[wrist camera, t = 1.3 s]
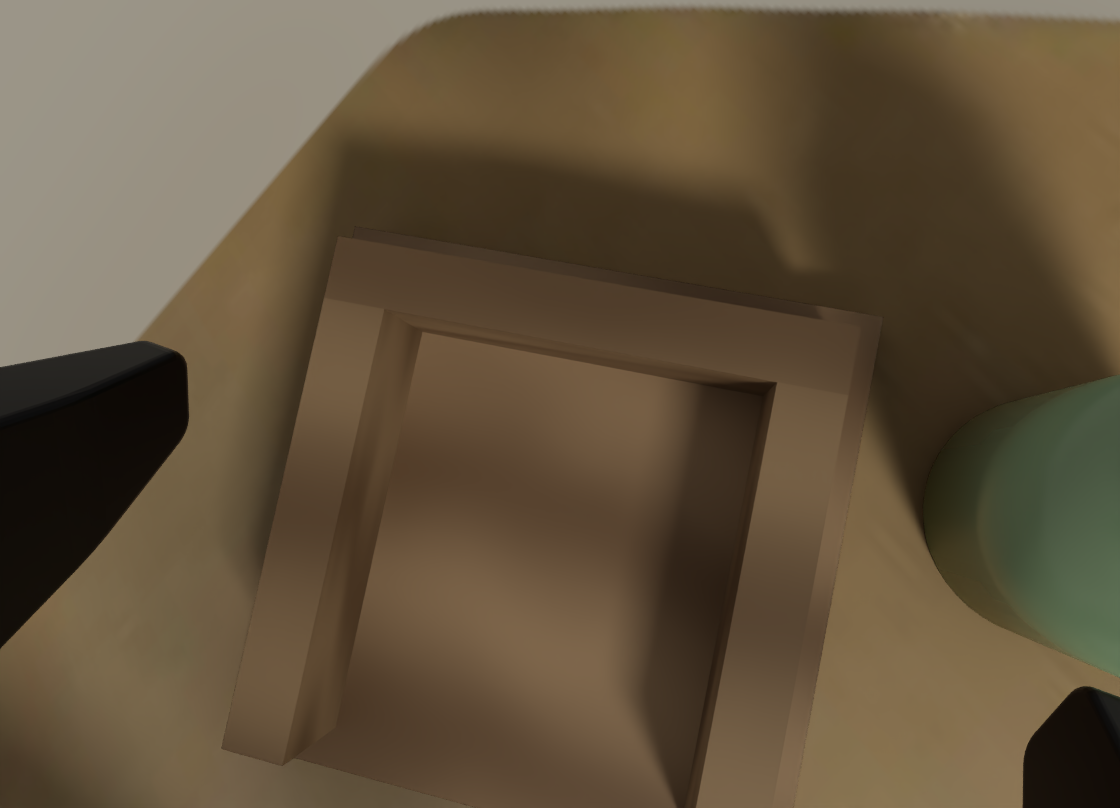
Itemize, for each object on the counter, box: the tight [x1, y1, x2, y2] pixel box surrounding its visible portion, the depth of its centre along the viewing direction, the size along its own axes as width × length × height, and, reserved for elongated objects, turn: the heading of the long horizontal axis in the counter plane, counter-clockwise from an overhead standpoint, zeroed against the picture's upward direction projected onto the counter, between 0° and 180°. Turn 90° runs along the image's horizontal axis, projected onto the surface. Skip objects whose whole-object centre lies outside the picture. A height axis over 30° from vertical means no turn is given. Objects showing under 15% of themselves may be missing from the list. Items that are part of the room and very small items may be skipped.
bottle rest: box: [221, 226, 883, 808], centre depth 21 cm, size 14×14×4 cm
